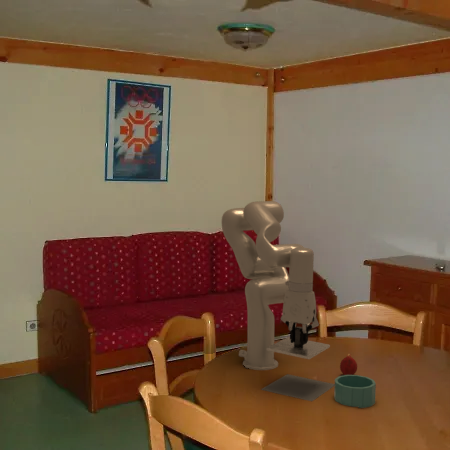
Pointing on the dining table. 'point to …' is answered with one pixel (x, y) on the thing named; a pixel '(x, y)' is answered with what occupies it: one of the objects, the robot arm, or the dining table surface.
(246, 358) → the robot arm
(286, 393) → the mat
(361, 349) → the dining table surface
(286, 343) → the lid
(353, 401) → the bowl
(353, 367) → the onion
